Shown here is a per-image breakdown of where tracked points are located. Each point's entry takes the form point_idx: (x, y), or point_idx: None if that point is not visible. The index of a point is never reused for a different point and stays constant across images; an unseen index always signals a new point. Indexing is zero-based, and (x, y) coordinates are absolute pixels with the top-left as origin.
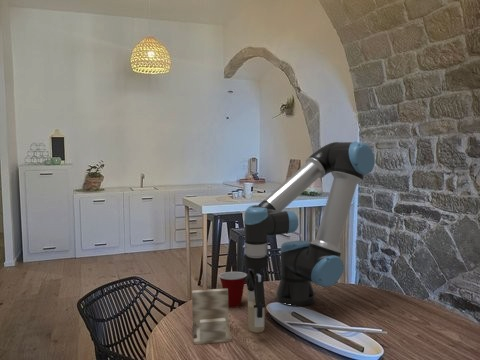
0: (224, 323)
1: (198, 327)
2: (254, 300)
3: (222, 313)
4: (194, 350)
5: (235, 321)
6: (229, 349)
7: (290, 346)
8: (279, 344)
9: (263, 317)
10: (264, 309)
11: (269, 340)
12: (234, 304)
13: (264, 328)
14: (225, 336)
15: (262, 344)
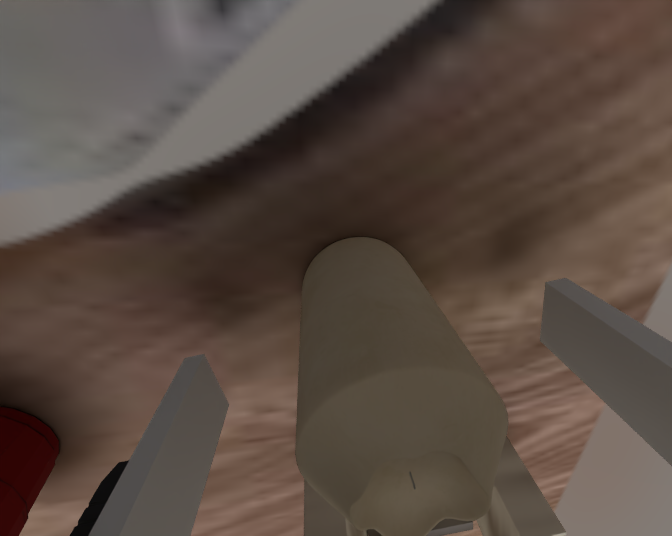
0: (552, 515)
1: None
2: (365, 504)
3: (351, 527)
4: None
5: (260, 399)
6: (564, 385)
7: (656, 31)
8: (597, 126)
9: (644, 326)
10: (405, 323)
11: (524, 199)
12: (39, 447)
13: (368, 238)
14: None
15: (563, 242)
